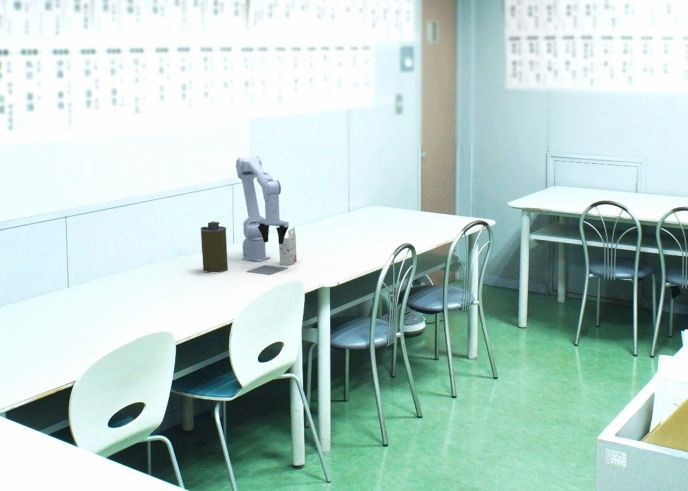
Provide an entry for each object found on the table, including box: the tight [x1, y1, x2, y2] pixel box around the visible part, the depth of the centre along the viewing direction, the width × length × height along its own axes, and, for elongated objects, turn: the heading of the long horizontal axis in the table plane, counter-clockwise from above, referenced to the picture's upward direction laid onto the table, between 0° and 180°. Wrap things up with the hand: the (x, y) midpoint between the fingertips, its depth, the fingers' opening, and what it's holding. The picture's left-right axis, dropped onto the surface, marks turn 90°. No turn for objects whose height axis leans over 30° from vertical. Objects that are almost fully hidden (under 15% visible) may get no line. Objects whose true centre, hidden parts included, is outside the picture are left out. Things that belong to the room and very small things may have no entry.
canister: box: [200, 221, 229, 273], centre depth 405 cm, size 11×10×20 cm
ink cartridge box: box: [278, 227, 297, 266], centre depth 416 cm, size 9×5×15 cm, turn 165°
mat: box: [245, 264, 289, 276], centre depth 405 cm, size 12×13×1 cm
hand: (273, 242), depth 407 cm, fingers open, 7 cm apart
